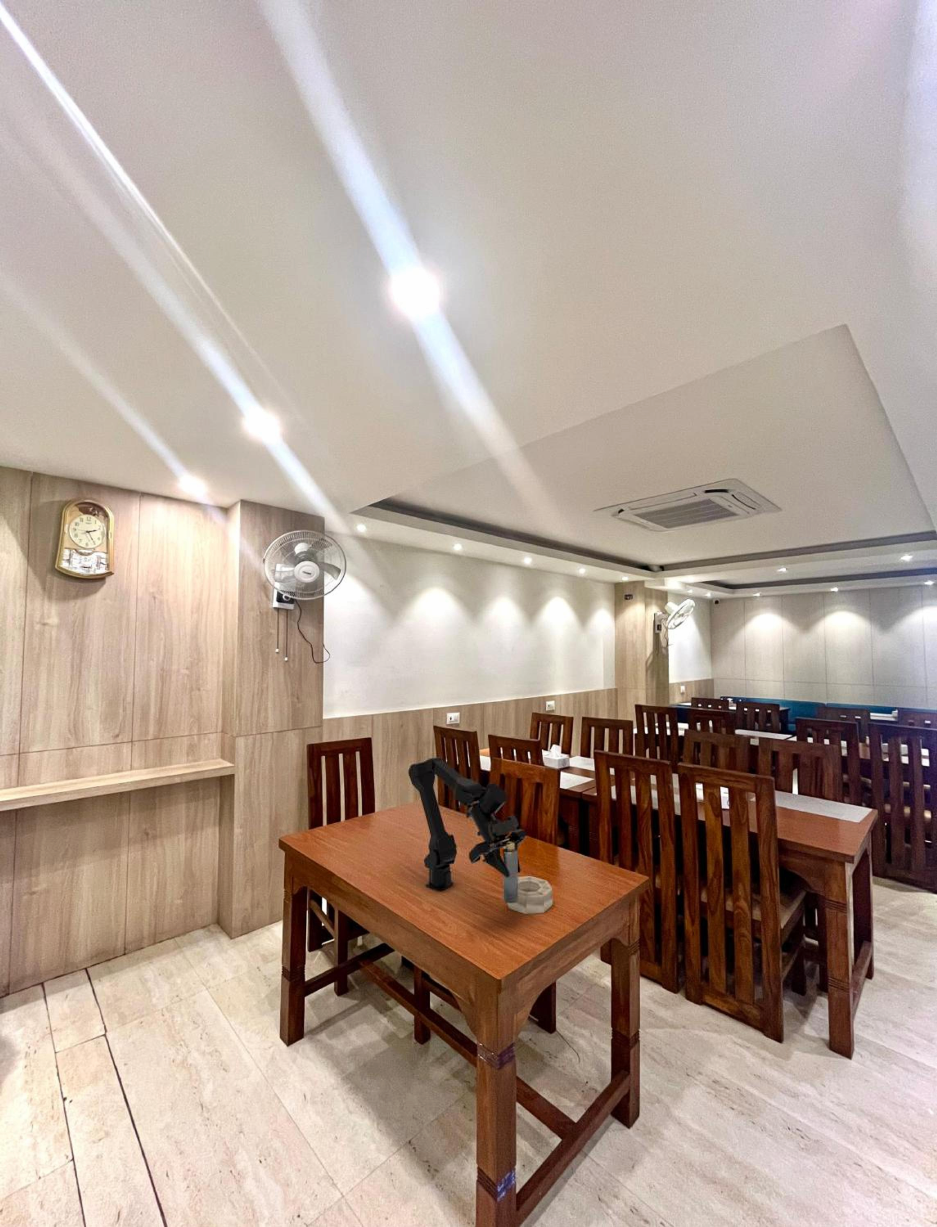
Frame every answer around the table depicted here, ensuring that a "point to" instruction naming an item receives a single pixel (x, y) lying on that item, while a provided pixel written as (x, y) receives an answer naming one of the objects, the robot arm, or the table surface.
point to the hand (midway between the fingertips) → (514, 874)
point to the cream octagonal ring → (532, 896)
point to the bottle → (512, 881)
